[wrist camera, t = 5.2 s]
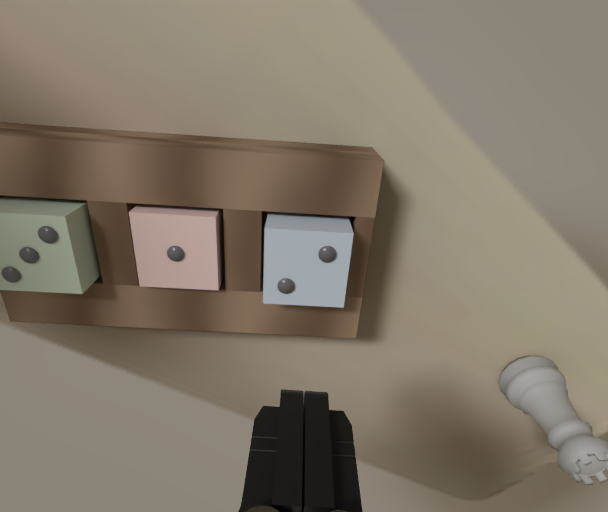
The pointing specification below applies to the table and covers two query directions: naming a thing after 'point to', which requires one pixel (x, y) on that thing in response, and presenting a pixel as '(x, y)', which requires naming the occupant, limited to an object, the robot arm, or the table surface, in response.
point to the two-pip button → (306, 259)
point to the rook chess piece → (555, 416)
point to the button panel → (192, 193)
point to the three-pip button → (46, 245)
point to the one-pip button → (178, 246)
